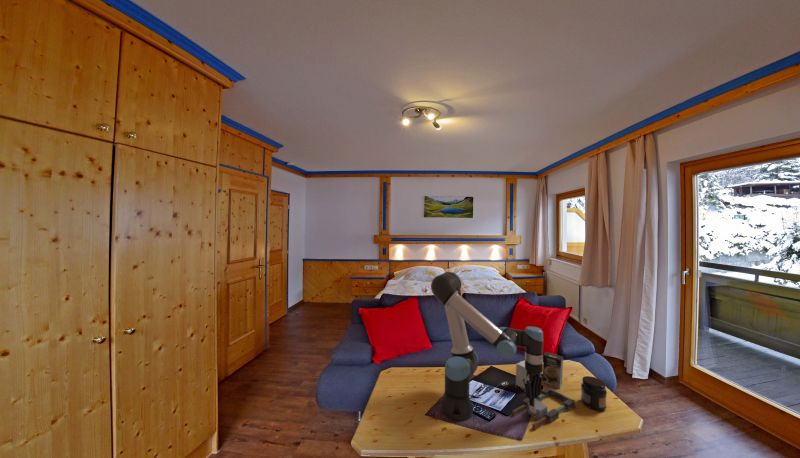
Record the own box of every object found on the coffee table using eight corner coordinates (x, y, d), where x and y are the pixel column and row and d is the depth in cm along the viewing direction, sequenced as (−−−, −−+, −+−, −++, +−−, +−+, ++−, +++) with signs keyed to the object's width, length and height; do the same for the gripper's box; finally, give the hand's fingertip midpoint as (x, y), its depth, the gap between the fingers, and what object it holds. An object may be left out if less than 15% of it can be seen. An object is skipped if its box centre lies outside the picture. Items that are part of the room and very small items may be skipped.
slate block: (527, 412, 132) (528, 403, 132) (535, 408, 135) (535, 399, 135) (539, 420, 127) (540, 410, 127) (547, 415, 130) (547, 406, 130)
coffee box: (542, 382, 158) (542, 354, 157) (545, 378, 162) (545, 351, 162) (560, 389, 152) (561, 360, 151) (562, 384, 156) (563, 356, 156)
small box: (525, 392, 148) (526, 368, 148) (515, 386, 153) (515, 363, 153) (534, 387, 152) (535, 364, 152) (523, 382, 158) (524, 359, 158)
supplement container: (611, 409, 135) (612, 385, 135) (595, 413, 132) (596, 388, 132) (590, 396, 145) (591, 374, 145) (575, 400, 142) (576, 377, 142)
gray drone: (509, 413, 131) (509, 407, 131) (547, 392, 149) (547, 386, 148) (537, 432, 120) (537, 425, 119) (574, 406, 137) (574, 400, 137)
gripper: (533, 368, 122) (532, 421, 122) (549, 361, 129) (548, 411, 129) (517, 361, 128) (517, 411, 129) (534, 354, 135) (533, 402, 136)
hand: (532, 411), depth 129 cm, fingers closed
